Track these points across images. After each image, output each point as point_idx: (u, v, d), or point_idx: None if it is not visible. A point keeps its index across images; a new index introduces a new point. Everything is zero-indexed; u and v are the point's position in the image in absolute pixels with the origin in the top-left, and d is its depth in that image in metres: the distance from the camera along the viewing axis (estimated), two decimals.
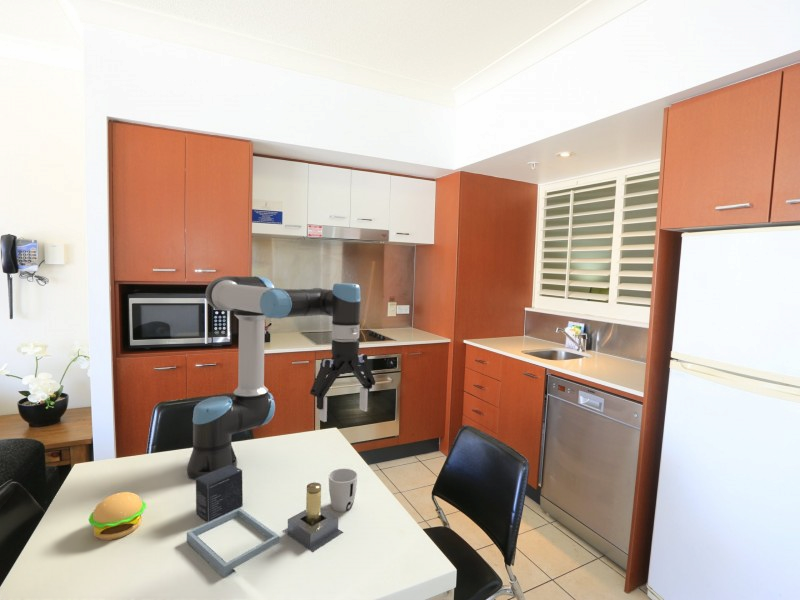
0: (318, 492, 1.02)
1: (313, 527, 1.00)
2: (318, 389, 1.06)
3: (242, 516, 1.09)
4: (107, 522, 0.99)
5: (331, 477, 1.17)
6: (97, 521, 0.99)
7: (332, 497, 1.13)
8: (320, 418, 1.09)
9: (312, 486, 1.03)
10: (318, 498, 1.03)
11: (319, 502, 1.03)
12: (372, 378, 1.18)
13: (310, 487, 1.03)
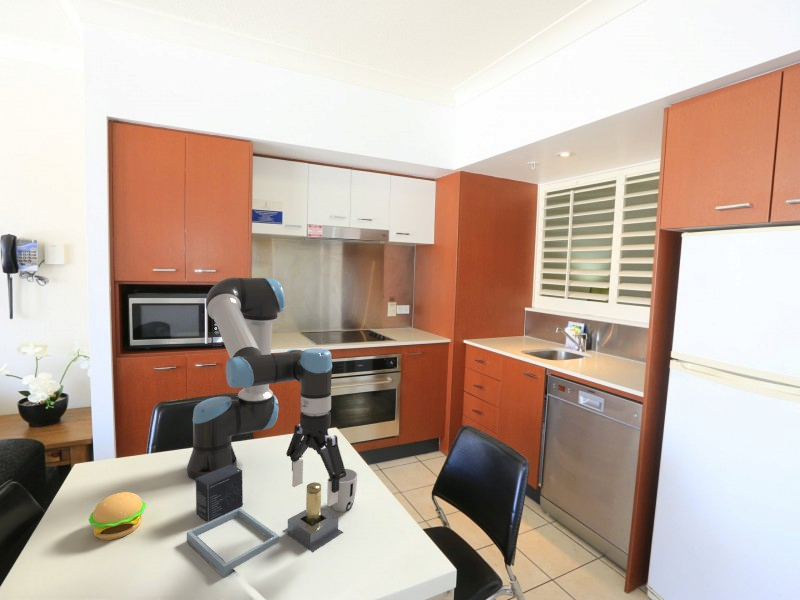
0: (318, 492, 1.02)
1: (313, 527, 1.00)
2: (288, 450, 1.08)
3: (242, 516, 1.09)
4: (107, 522, 0.99)
5: None
6: (97, 521, 0.99)
7: None
8: None
9: (312, 486, 1.03)
10: (318, 498, 1.03)
11: (319, 502, 1.03)
12: (335, 470, 0.96)
13: (310, 487, 1.03)
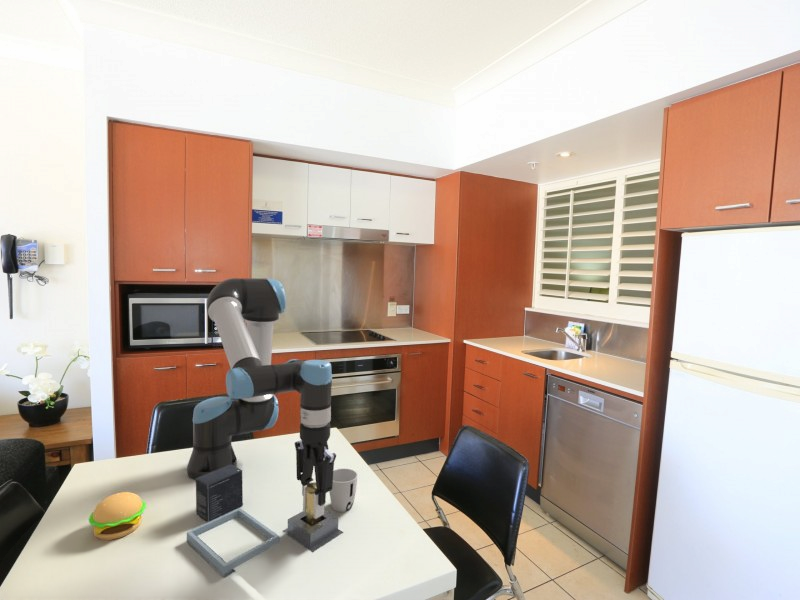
0: None
1: (313, 527, 1.00)
2: (297, 473, 1.06)
3: (242, 516, 1.09)
4: (107, 522, 0.99)
5: None
6: (97, 521, 0.99)
7: (332, 497, 1.13)
8: None
9: (312, 486, 1.03)
10: None
11: None
12: (323, 485, 0.99)
13: (310, 487, 1.03)
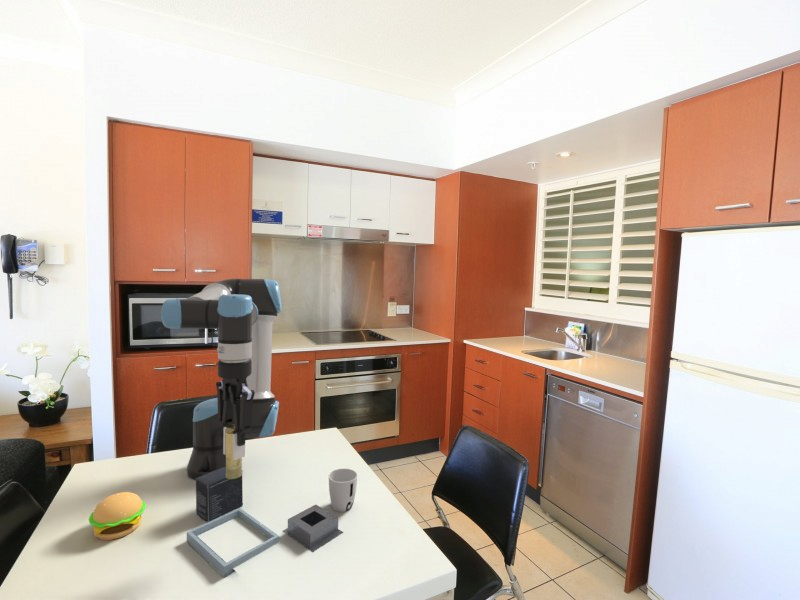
0: None
1: (313, 527, 1.00)
2: (219, 414, 1.00)
3: (242, 516, 1.09)
4: (107, 522, 0.99)
5: (331, 477, 1.17)
6: (97, 521, 0.99)
7: (332, 497, 1.13)
8: None
9: (232, 427, 0.98)
10: None
11: None
12: (241, 423, 0.94)
13: (229, 428, 0.98)
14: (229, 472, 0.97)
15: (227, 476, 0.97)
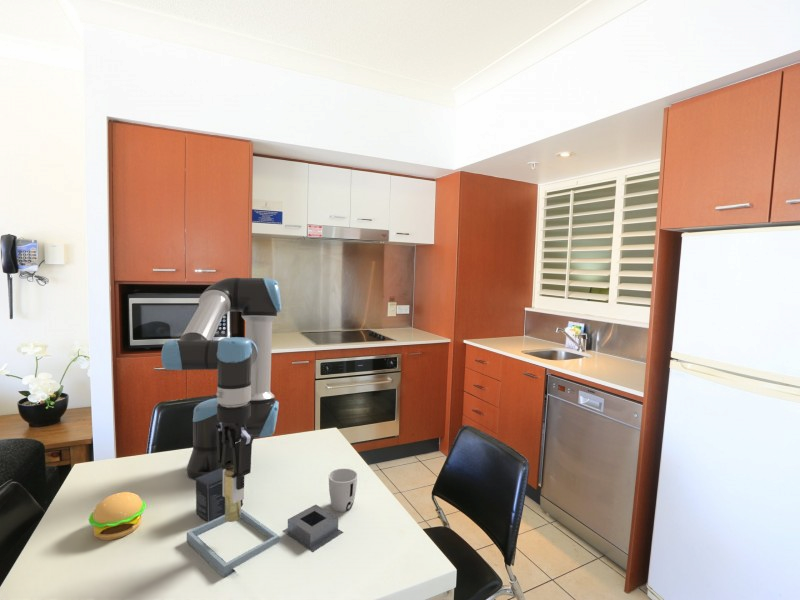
0: None
1: (313, 527, 1.00)
2: (218, 456, 1.01)
3: (242, 516, 1.09)
4: (107, 522, 0.99)
5: (331, 477, 1.17)
6: (97, 521, 0.99)
7: (332, 497, 1.13)
8: None
9: (231, 469, 0.99)
10: None
11: None
12: (240, 468, 0.95)
13: (229, 470, 0.98)
14: (228, 515, 0.98)
15: (226, 519, 0.98)
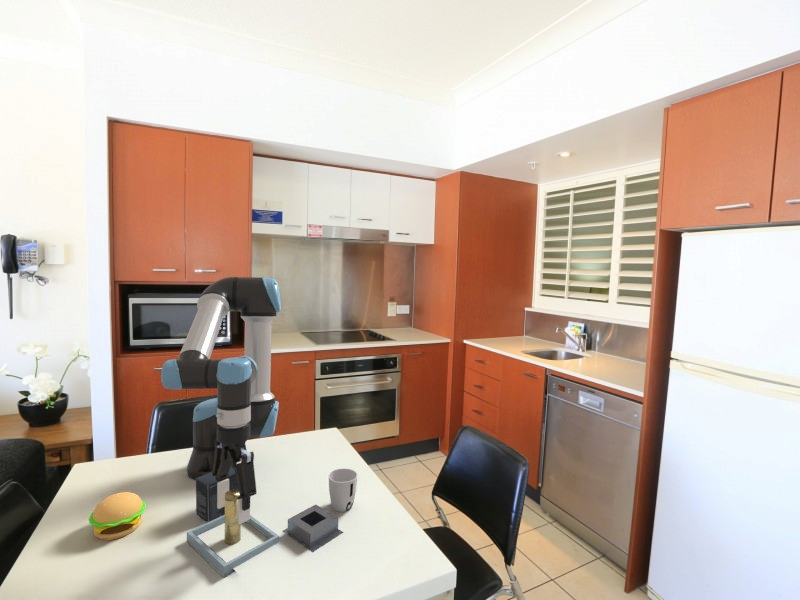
0: (236, 499, 0.98)
1: (313, 527, 1.00)
2: (213, 469, 1.03)
3: None
4: (107, 522, 0.99)
5: (331, 477, 1.17)
6: (97, 521, 0.99)
7: (332, 497, 1.13)
8: None
9: (231, 493, 0.99)
10: (237, 505, 0.98)
11: None
12: (245, 488, 0.94)
13: (228, 494, 0.99)
14: (228, 538, 0.98)
15: (226, 542, 0.98)
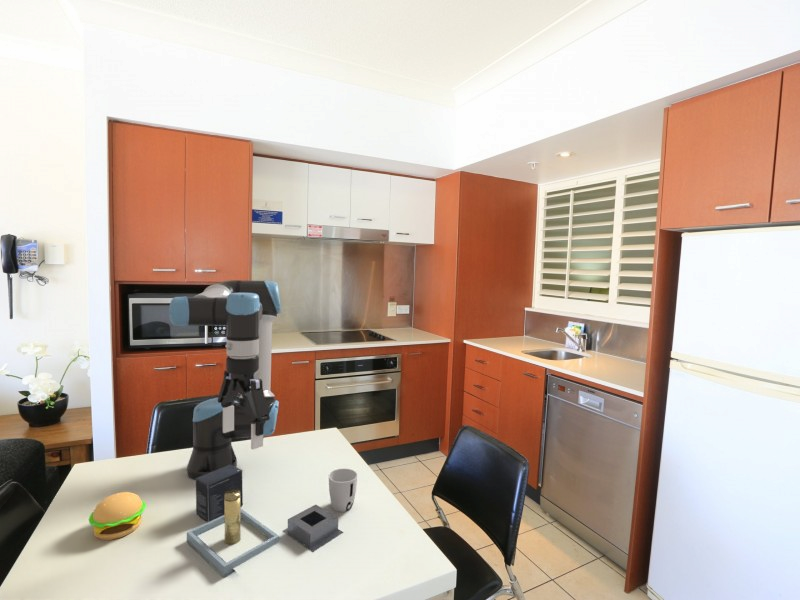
0: (236, 500, 0.98)
1: (313, 527, 1.00)
2: (219, 396, 1.06)
3: (242, 516, 1.09)
4: (107, 522, 0.99)
5: (331, 477, 1.17)
6: (97, 521, 0.99)
7: (332, 497, 1.13)
8: None
9: (230, 493, 0.99)
10: (237, 506, 0.98)
11: (238, 510, 0.99)
12: (257, 413, 0.95)
13: (228, 495, 0.98)
14: (228, 538, 0.98)
15: (226, 542, 0.98)
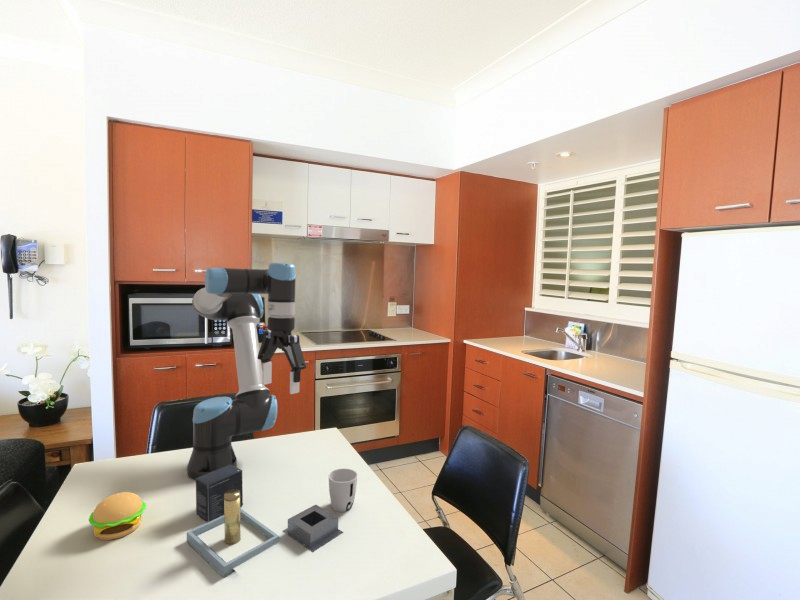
0: (235, 500, 0.98)
1: (313, 527, 1.00)
2: (259, 354, 1.24)
3: (242, 516, 1.09)
4: (107, 522, 0.99)
5: (331, 477, 1.17)
6: (97, 521, 0.99)
7: (332, 497, 1.13)
8: None
9: (230, 493, 0.99)
10: (236, 505, 0.98)
11: (237, 510, 0.99)
12: (296, 362, 1.13)
13: (227, 494, 0.98)
14: (228, 538, 0.98)
15: (226, 542, 0.98)
